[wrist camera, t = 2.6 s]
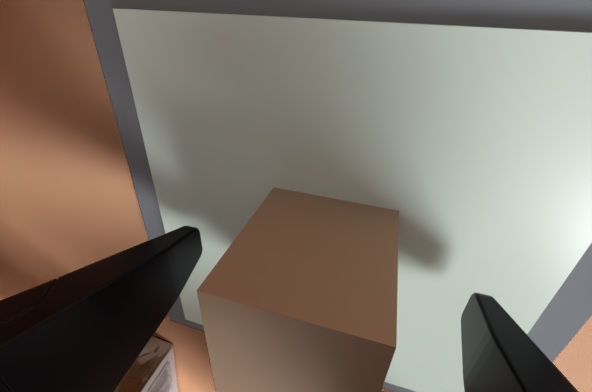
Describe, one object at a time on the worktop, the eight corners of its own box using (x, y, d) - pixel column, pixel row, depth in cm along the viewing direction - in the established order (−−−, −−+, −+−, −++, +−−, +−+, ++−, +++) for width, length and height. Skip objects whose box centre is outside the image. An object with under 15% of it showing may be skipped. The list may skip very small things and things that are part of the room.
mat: (496, 411, 12) (499, 425, 12) (177, 312, 16) (170, 320, 15) (873, -70, 5) (921, -79, 4) (83, -61, 8) (65, -64, 8)
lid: (471, 392, 12) (504, 576, 8) (192, 308, 14) (117, 414, 10) (702, 38, 5) (1446, 94, 2) (130, 8, 8) (-113, 3, 4)
